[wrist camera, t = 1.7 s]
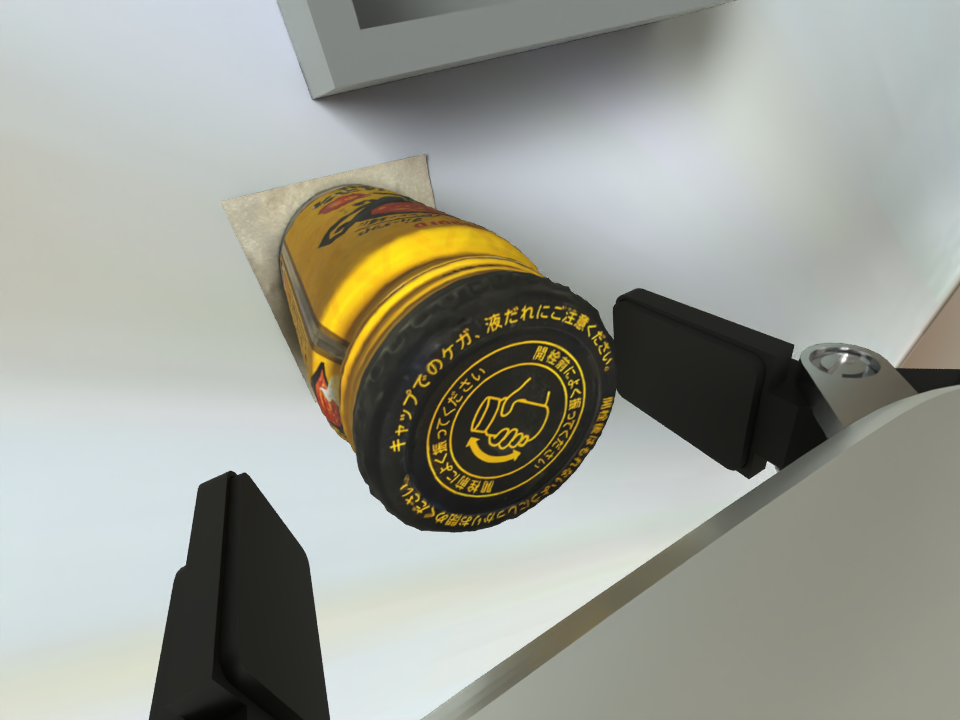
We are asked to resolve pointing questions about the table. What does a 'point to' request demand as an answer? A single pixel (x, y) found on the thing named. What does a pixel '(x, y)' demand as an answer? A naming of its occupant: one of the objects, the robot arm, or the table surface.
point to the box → (445, 33)
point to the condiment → (429, 344)
